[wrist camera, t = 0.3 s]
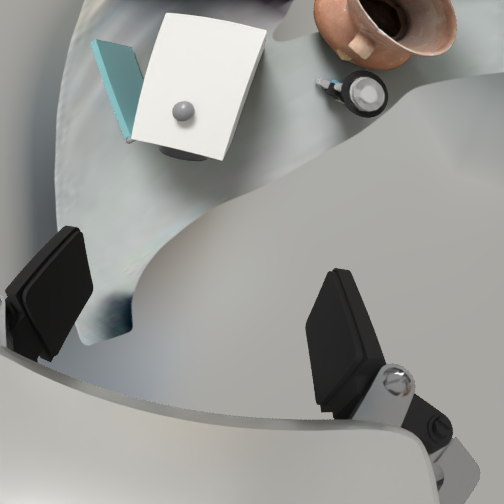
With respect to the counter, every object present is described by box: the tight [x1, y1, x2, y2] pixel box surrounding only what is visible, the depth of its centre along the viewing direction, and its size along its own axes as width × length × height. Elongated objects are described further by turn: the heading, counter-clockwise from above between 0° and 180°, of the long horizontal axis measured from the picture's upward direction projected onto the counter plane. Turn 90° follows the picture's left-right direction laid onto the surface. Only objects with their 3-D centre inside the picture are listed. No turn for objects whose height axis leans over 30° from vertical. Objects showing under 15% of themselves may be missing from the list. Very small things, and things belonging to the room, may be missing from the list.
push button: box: [315, 71, 388, 118], centre depth 26 cm, size 7×5×10 cm
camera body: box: [131, 13, 267, 161], centre depth 26 cm, size 16×10×12 cm, turn 162°
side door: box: [90, 40, 144, 144], centre depth 26 cm, size 14×1×10 cm, turn 17°
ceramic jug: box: [314, 0, 457, 70], centre depth 18 cm, size 18×14×14 cm
